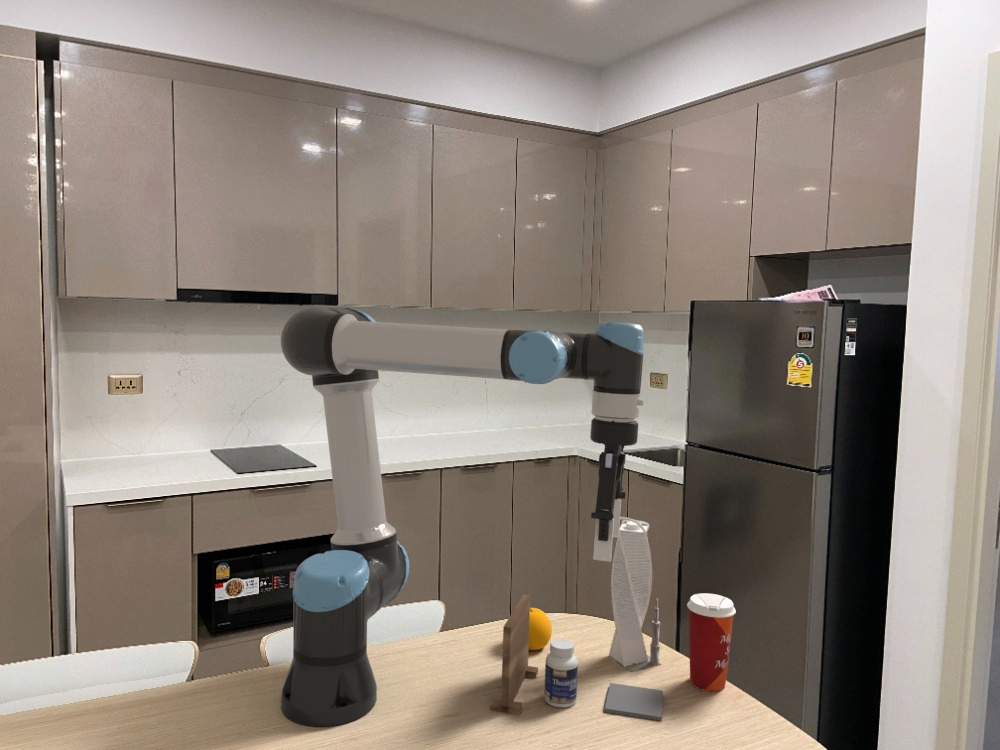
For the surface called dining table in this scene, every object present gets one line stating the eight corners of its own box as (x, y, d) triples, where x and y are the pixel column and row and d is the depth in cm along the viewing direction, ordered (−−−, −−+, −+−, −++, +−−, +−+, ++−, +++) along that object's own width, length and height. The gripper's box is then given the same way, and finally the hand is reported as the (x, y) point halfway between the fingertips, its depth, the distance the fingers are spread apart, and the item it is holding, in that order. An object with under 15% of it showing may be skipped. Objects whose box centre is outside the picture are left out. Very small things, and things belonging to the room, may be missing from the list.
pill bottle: (550, 710, 119) (552, 652, 118) (539, 694, 124) (541, 638, 123) (581, 706, 120) (583, 649, 119) (569, 691, 125) (571, 635, 125)
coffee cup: (734, 697, 125) (738, 611, 124) (684, 691, 126) (688, 606, 125) (729, 675, 133) (733, 594, 132) (682, 669, 134) (686, 589, 134)
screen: (489, 709, 118) (491, 625, 117) (511, 668, 133) (513, 593, 132) (519, 714, 117) (522, 629, 116) (538, 672, 131) (540, 596, 131)
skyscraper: (624, 675, 132) (631, 522, 131) (598, 656, 139) (604, 512, 138) (661, 666, 136) (667, 518, 134) (634, 649, 143) (640, 508, 142)
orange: (547, 658, 138) (548, 619, 137) (506, 652, 140) (507, 614, 139) (554, 640, 145) (555, 603, 145) (515, 635, 147) (516, 599, 147)
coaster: (604, 711, 119) (604, 708, 119) (610, 686, 127) (610, 682, 127) (661, 720, 116) (661, 717, 116) (663, 693, 125) (663, 690, 125)
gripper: (633, 430, 105) (623, 574, 106) (642, 412, 129) (634, 530, 131) (581, 425, 107) (572, 568, 108) (600, 409, 131) (592, 525, 132)
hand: (606, 547), depth 119 cm, fingers open, 13 cm apart
